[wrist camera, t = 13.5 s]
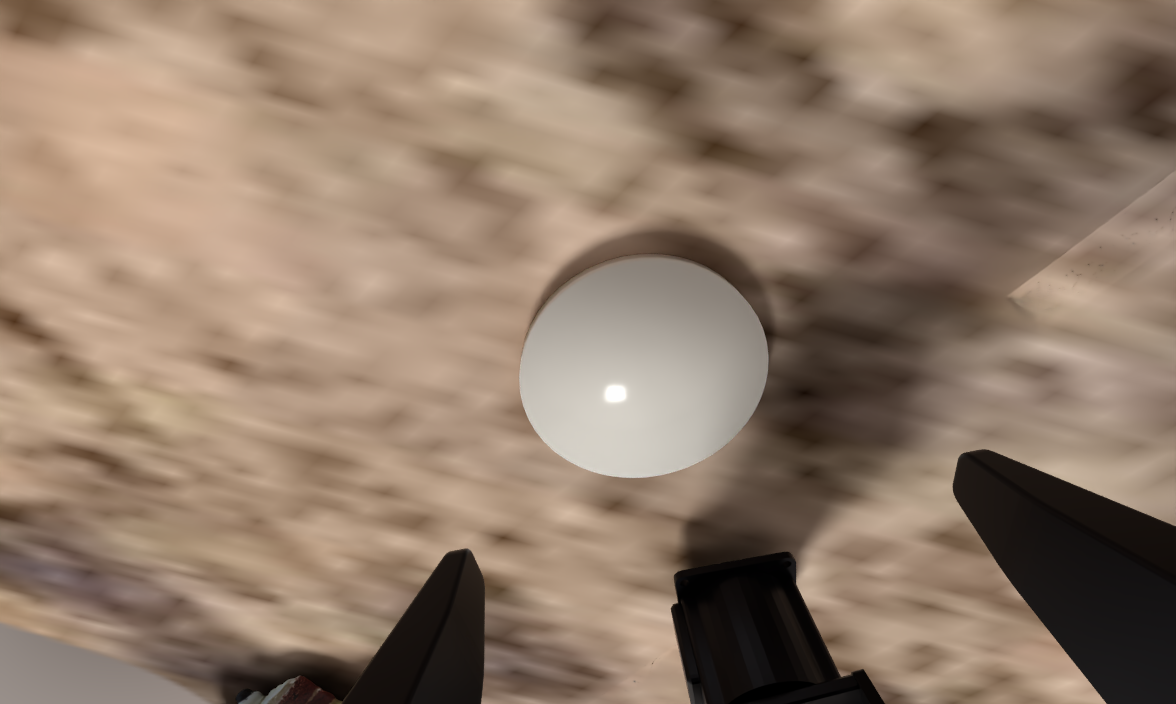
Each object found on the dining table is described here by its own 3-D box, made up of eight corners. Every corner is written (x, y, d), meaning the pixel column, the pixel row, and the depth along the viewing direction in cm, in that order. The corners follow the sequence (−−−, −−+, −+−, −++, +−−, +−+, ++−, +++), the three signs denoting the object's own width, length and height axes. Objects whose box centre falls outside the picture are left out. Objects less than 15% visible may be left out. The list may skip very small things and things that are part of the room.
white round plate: (756, 228, 20) (765, 235, 20) (763, 441, 26) (771, 454, 25) (491, 283, 21) (488, 292, 20) (550, 482, 26) (551, 496, 25)
